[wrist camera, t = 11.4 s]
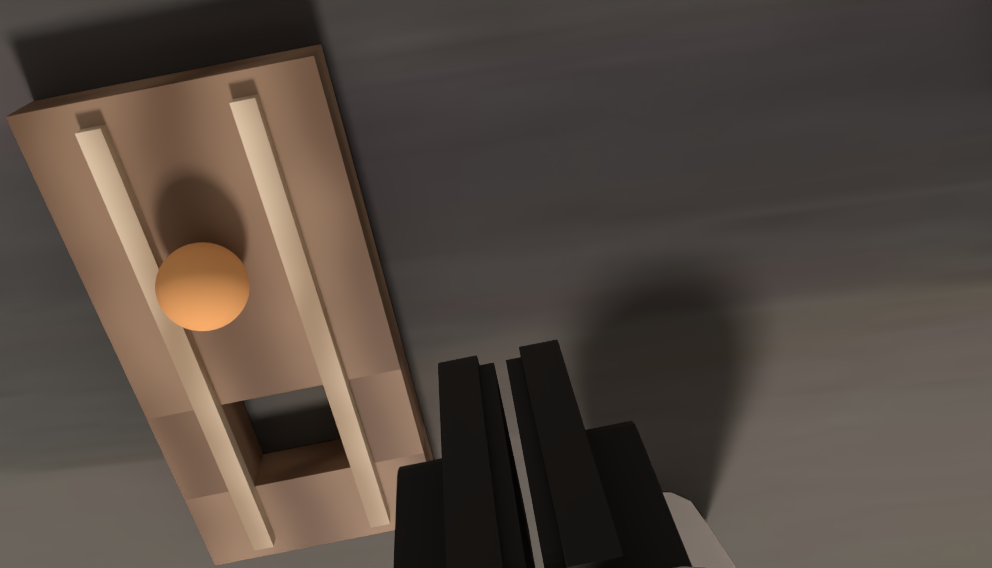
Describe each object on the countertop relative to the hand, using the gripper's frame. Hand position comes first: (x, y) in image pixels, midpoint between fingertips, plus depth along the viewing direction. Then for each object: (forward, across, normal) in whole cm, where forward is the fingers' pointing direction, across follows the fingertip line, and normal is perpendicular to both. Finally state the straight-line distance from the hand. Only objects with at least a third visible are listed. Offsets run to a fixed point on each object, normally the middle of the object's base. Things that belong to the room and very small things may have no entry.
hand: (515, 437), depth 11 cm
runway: (+25, +11, +10) cm, 29 cm away
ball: (+21, +12, +6) cm, 24 cm away
